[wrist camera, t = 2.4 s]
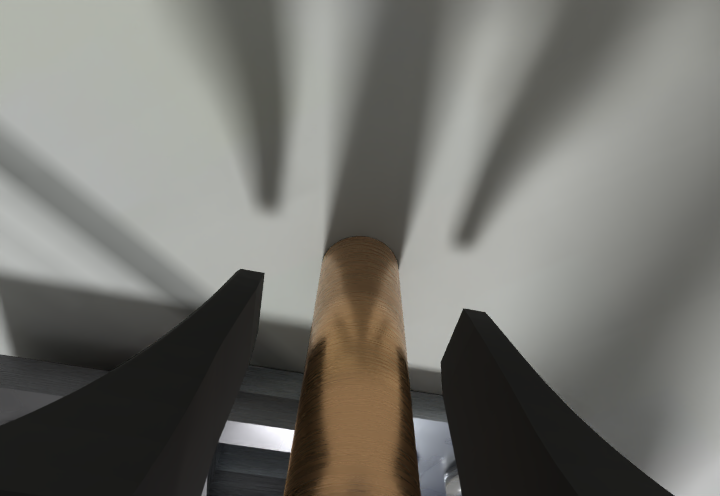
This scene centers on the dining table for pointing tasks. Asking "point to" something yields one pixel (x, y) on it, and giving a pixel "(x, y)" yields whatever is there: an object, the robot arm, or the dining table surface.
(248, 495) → the chain joint
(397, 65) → the dining table surface
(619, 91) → the dining table surface
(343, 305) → the copper pin
